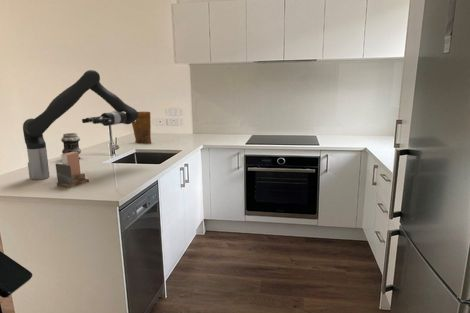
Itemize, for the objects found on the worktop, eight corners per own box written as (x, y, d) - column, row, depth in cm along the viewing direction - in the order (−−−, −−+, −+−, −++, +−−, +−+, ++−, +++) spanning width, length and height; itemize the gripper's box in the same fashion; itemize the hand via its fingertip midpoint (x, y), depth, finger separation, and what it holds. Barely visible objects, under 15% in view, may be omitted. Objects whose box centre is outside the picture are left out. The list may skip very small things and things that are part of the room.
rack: (76, 179, 187) (74, 159, 184) (89, 181, 182) (87, 161, 180) (56, 185, 176) (54, 164, 174) (70, 188, 172) (67, 166, 169)
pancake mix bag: (150, 144, 291) (148, 111, 285) (131, 143, 297) (128, 111, 291) (154, 143, 298) (152, 111, 292) (135, 142, 303) (133, 110, 297)
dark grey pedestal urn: (80, 160, 232) (78, 134, 228) (61, 161, 228) (58, 135, 224) (82, 156, 243) (80, 132, 239) (64, 158, 240) (61, 132, 236)
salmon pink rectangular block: (76, 178, 183) (73, 151, 180) (81, 179, 181) (78, 152, 178) (64, 182, 176) (61, 154, 173) (69, 183, 175) (66, 155, 172)
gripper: (101, 111, 201) (78, 114, 187) (119, 113, 195) (96, 115, 181) (102, 124, 203) (79, 127, 189) (120, 125, 197) (97, 129, 182)
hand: (88, 121), depth 185 cm, fingers open, 8 cm apart
